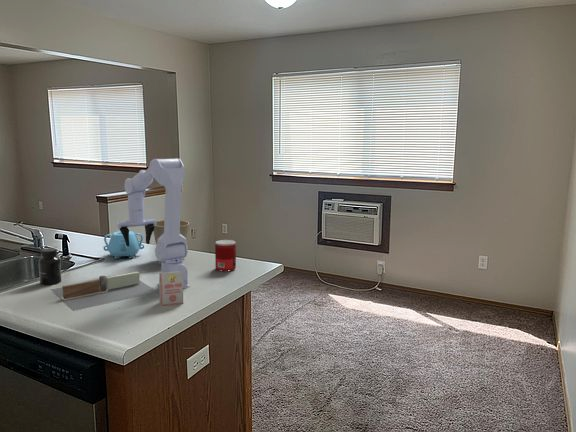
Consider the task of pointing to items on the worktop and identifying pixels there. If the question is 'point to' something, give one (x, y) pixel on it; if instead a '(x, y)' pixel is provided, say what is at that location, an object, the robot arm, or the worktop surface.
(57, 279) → the supplement bottle
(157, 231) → the plant pot
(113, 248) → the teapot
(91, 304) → the card
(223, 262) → the canned food
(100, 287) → the walnut fence section
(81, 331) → the worktop surface
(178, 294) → the pink white carton
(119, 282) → the sage fence panel
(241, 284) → the worktop surface
